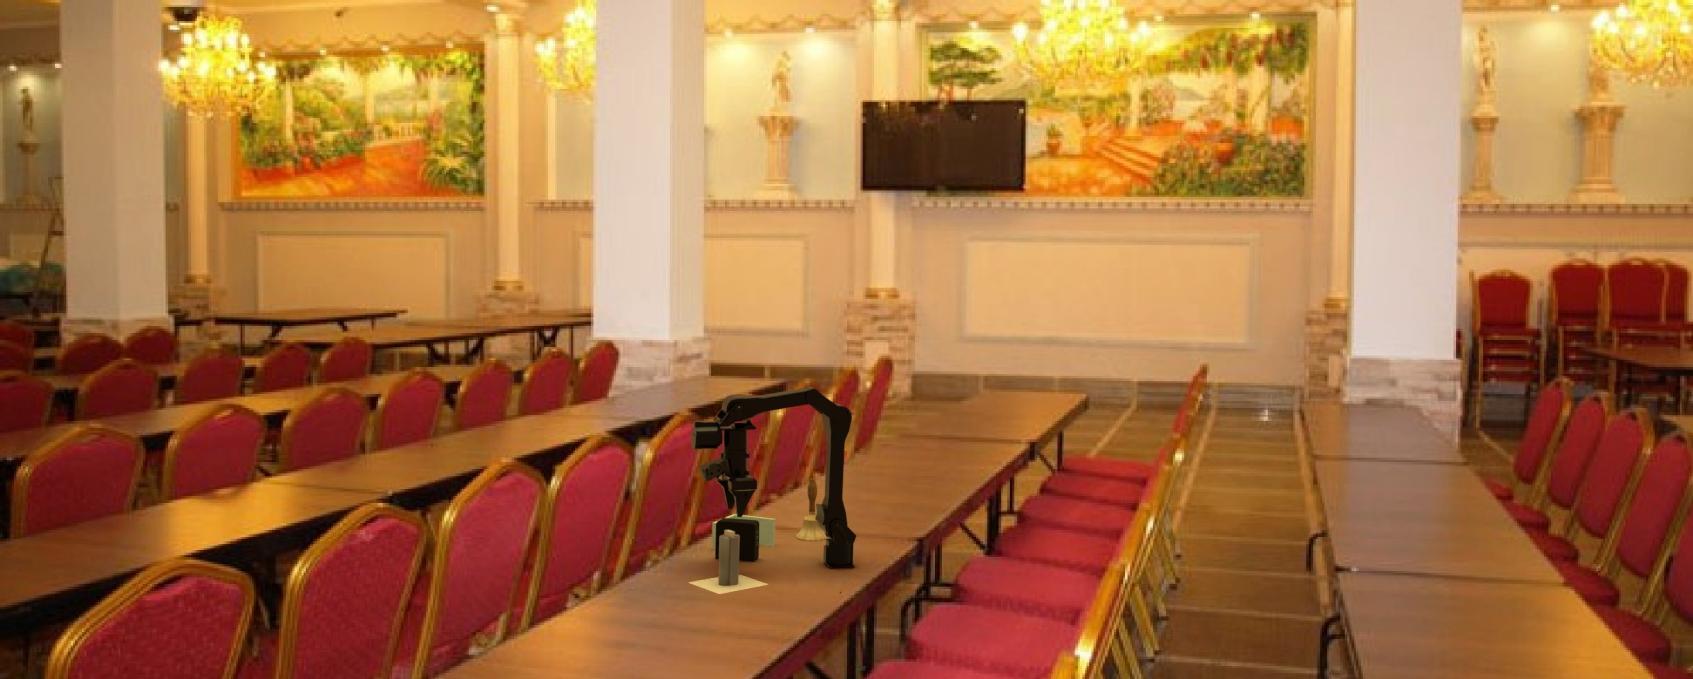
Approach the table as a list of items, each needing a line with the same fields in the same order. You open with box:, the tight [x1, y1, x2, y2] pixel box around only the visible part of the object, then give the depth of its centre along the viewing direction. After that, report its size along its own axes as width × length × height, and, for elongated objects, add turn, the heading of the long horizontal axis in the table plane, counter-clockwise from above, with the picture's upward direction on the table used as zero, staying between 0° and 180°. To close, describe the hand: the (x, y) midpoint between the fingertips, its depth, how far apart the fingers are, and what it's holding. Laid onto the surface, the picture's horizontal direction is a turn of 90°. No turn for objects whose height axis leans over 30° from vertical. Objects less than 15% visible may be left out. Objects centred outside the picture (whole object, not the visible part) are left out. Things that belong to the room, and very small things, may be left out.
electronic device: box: [714, 517, 760, 563], centre depth 332 cm, size 4×10×10 cm, turn 78°
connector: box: [717, 530, 740, 586], centre depth 308 cm, size 5×4×12 cm
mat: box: [688, 573, 770, 595], centre depth 308 cm, size 14×12×1 cm
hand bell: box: [795, 477, 828, 542], centre depth 359 cm, size 8×8×16 cm
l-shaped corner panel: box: [711, 513, 776, 551], centre depth 345 cm, size 12×12×8 cm
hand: (734, 512), depth 321 cm, fingers open, 9 cm apart
